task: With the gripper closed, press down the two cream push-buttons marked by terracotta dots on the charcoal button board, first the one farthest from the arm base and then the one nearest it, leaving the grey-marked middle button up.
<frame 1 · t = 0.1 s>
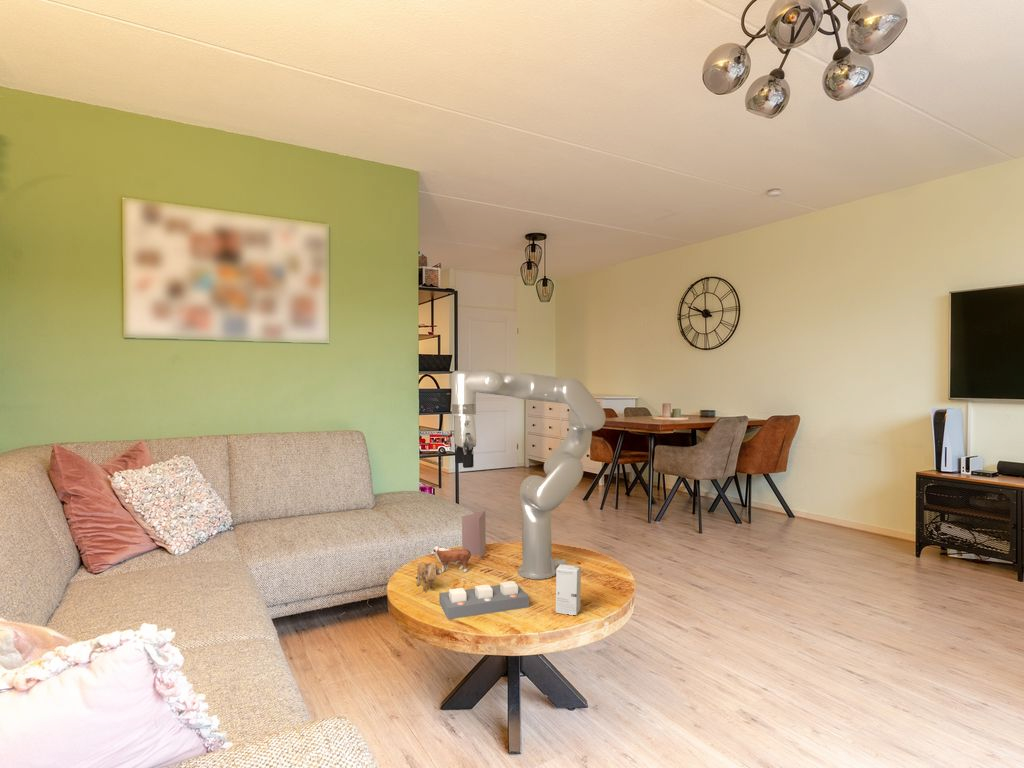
hand: (464, 465, 175), 37 cm above the table, tool pointing down, fingers open, 9 cm apart
greeting card: (479, 557, 201), on the table
bull figurine: (450, 571, 186), on the table
lion figurine: (427, 588, 172), on the table
skincare box: (568, 612, 153), on the table
inner button: (509, 590, 160), point 3 cm above the table, slide at 0.0 cm
middle button: (483, 593, 158), point 3 cm above the table, slide at 0.0 cm
button board: (483, 605, 158), on the table
outer button: (457, 597, 155), point 3 cm above the table, slide at 0.0 cm
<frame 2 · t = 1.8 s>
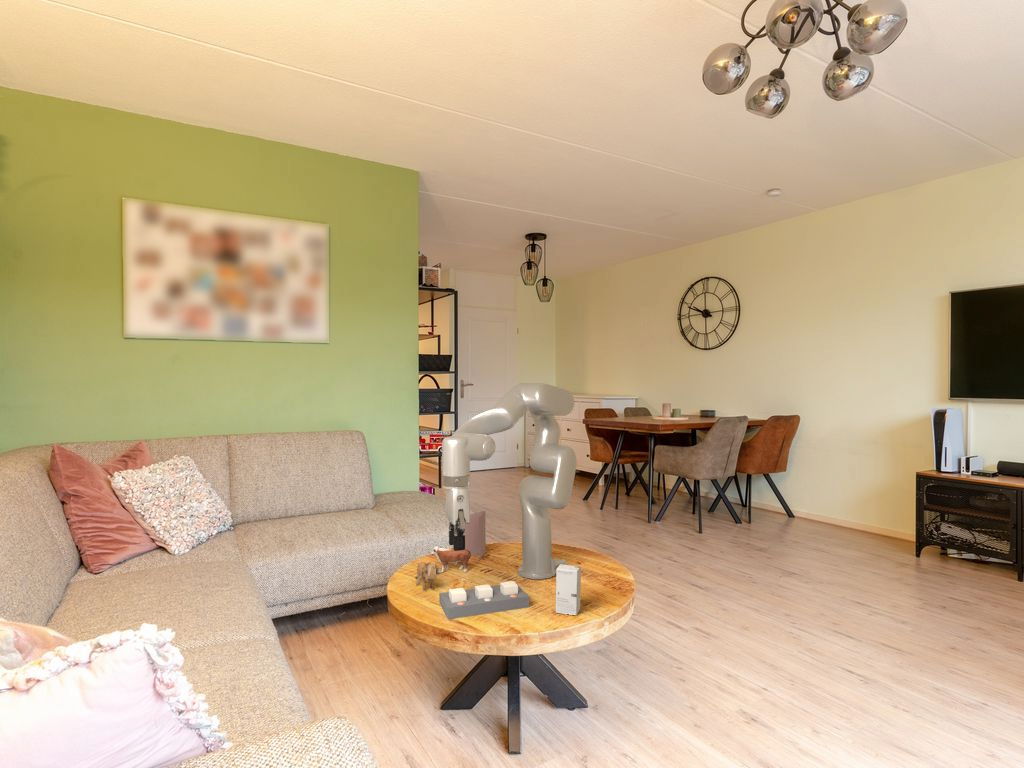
hand: (457, 546, 155), 17 cm above the table, tool pointing down, fingers open, 4 cm apart
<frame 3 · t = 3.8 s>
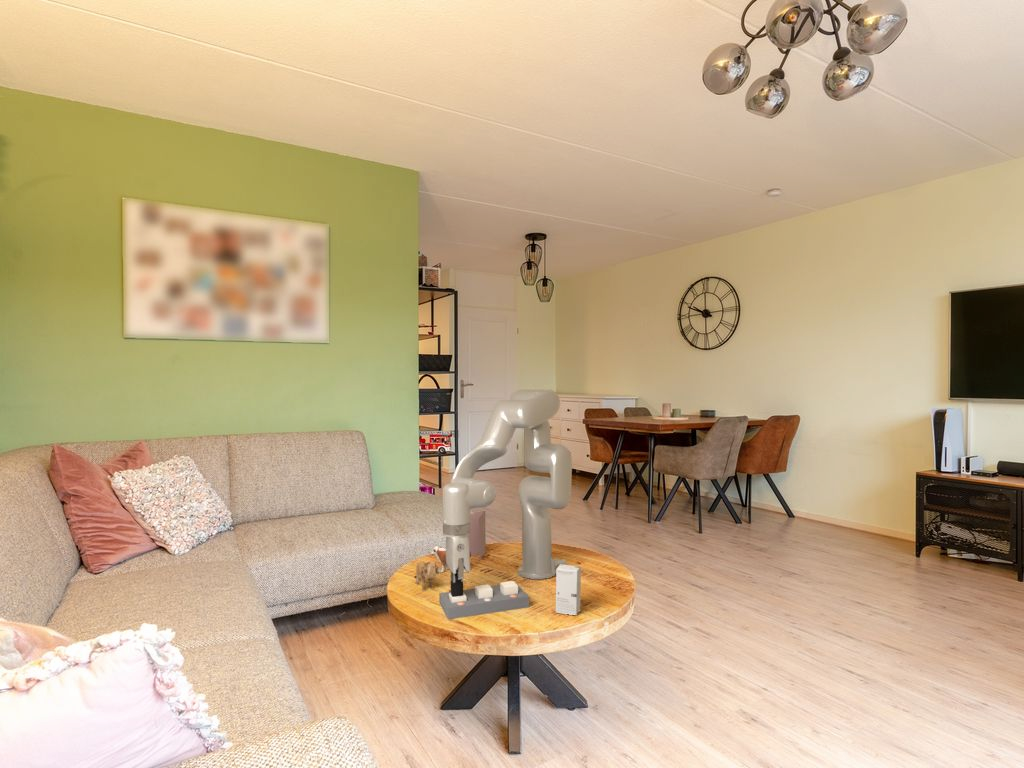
hand: (456, 595, 155), 4 cm above the table, tool pointing down, fingers closed
outer button: (457, 601, 156), point 2 cm above the table, slide at 1.0 cm, touching gripper
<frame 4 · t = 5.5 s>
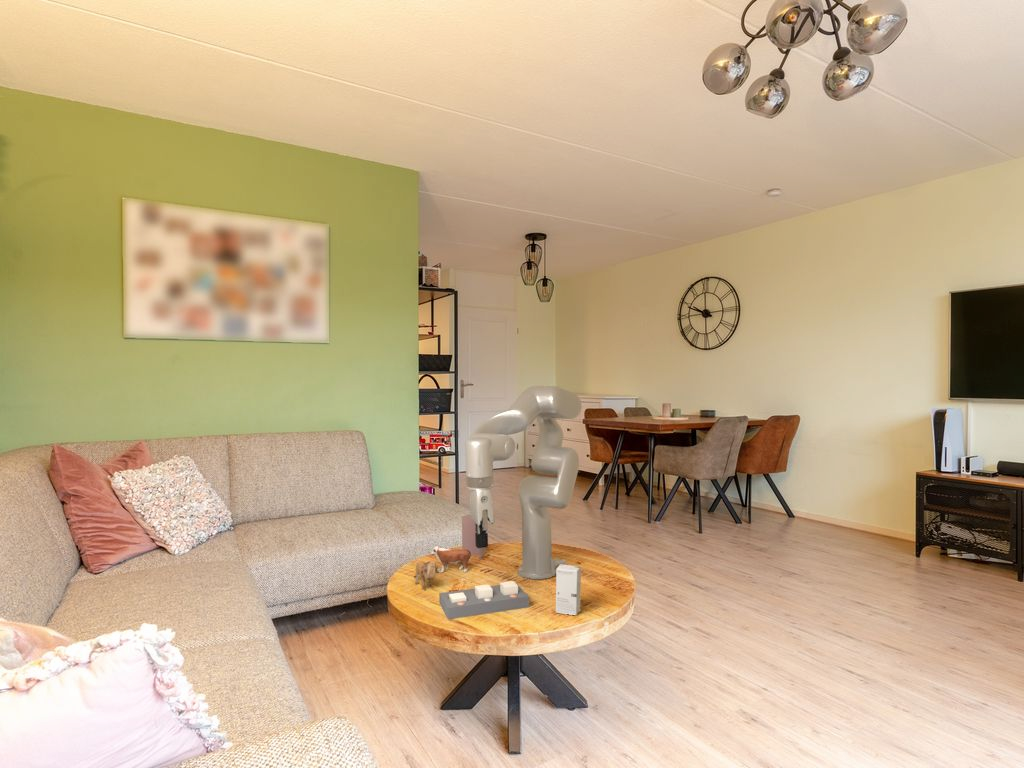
hand: (481, 546, 158), 16 cm above the table, tool pointing down, fingers closed
outer button: (457, 602, 156), point 2 cm above the table, slide at 1.3 cm
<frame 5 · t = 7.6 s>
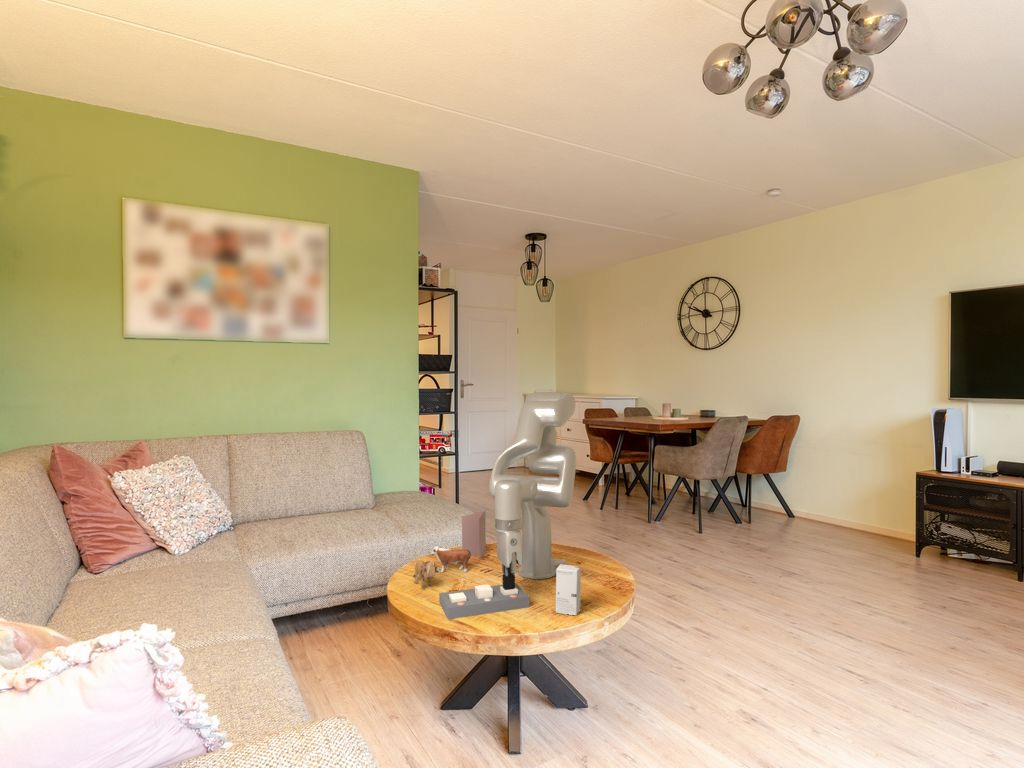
hand: (508, 588, 160), 4 cm above the table, tool pointing down, fingers closed
inner button: (509, 594, 160), point 2 cm above the table, slide at 1.2 cm
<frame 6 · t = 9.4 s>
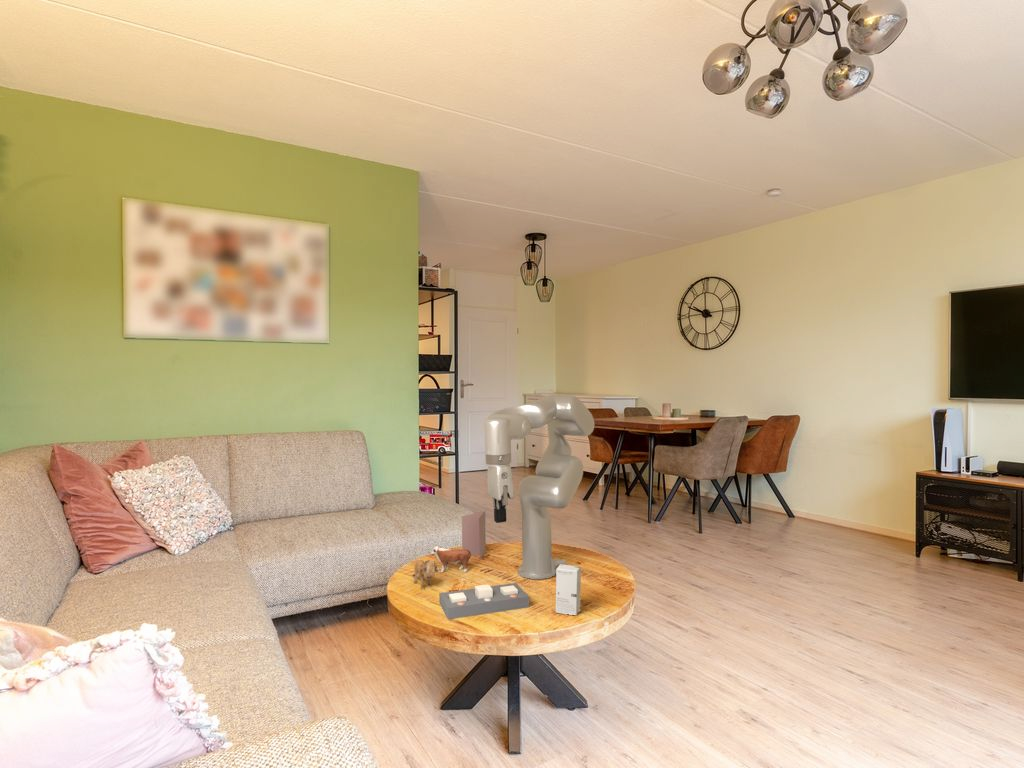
hand: (500, 521, 165), 22 cm above the table, tool pointing down, fingers closed
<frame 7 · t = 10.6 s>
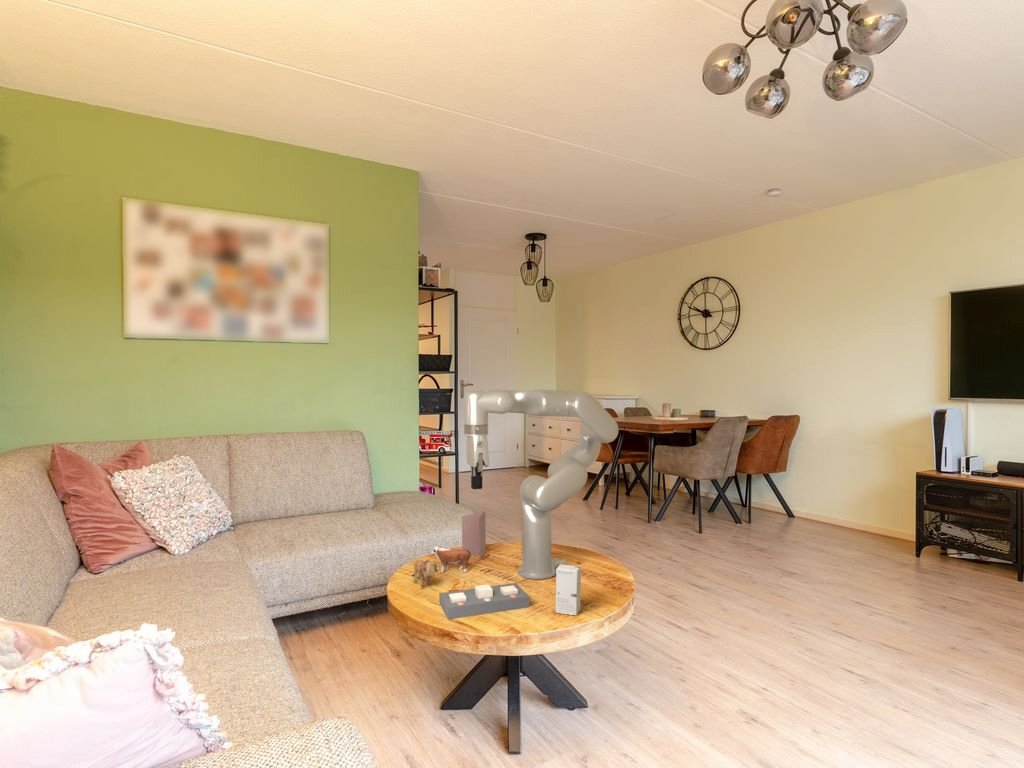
hand: (476, 488, 177), 29 cm above the table, tool pointing down, fingers closed
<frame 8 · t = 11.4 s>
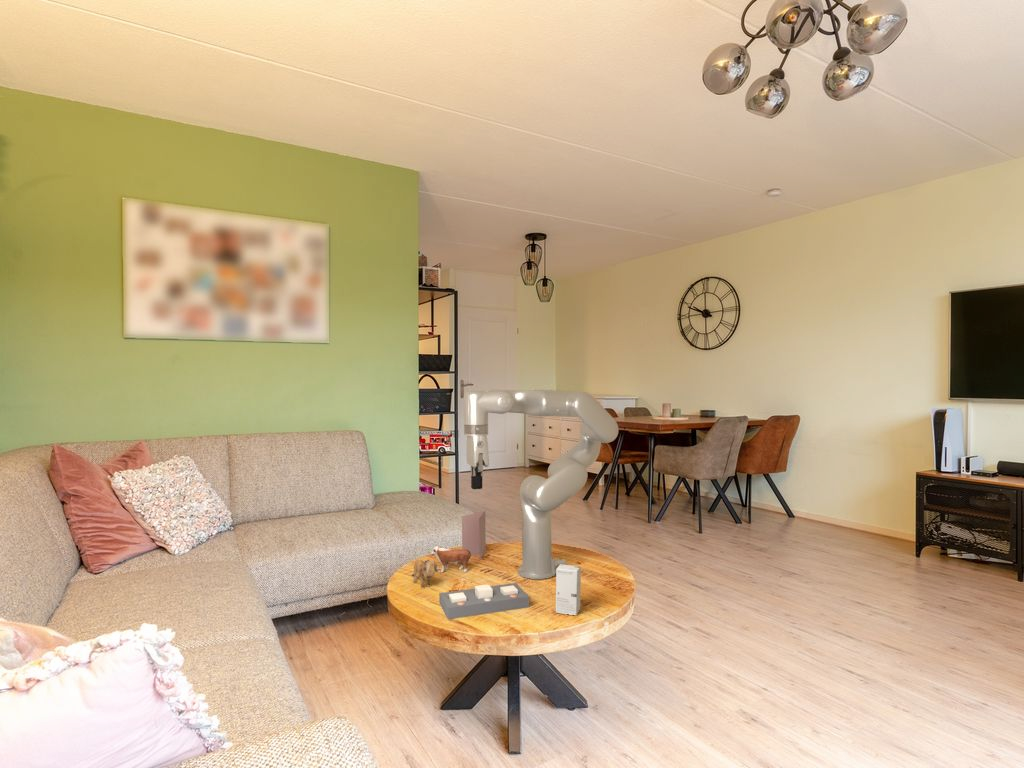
hand: (476, 488, 177), 29 cm above the table, tool pointing down, fingers closed
at the end: outer button slide at 1.3 cm; inner button slide at 1.3 cm; middle button slide at 0.0 cm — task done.
